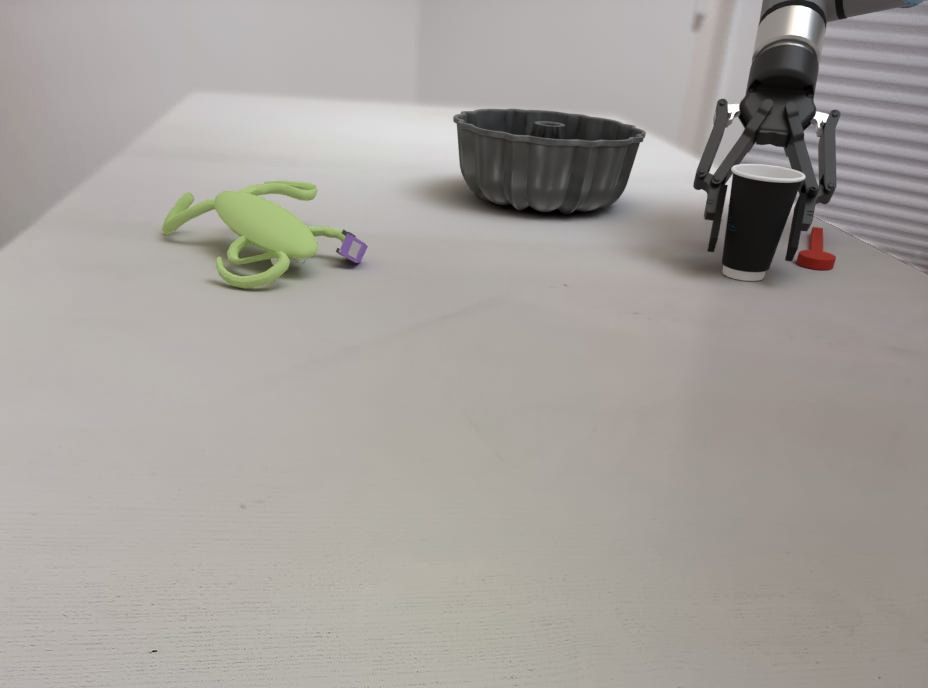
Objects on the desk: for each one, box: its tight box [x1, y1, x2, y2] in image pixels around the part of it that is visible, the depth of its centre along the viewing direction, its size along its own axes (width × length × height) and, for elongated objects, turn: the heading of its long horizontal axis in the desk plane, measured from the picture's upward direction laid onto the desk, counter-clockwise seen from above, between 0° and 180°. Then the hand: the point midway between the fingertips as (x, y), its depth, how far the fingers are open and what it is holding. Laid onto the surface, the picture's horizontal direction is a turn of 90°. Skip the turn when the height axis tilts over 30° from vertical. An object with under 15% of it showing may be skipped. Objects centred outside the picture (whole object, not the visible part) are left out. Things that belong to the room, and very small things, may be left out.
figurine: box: [161, 180, 369, 290], centre depth 101 cm, size 18×27×6 cm
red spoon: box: [796, 226, 837, 271], centre depth 117 cm, size 4×18×1 cm, turn 162°
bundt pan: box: [452, 108, 647, 215], centre depth 127 cm, size 26×26×10 cm
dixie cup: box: [721, 163, 805, 282], centre depth 103 cm, size 8×8×11 cm
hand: (751, 249), depth 102 cm, fingers closed on dixie cup, 8 cm apart
